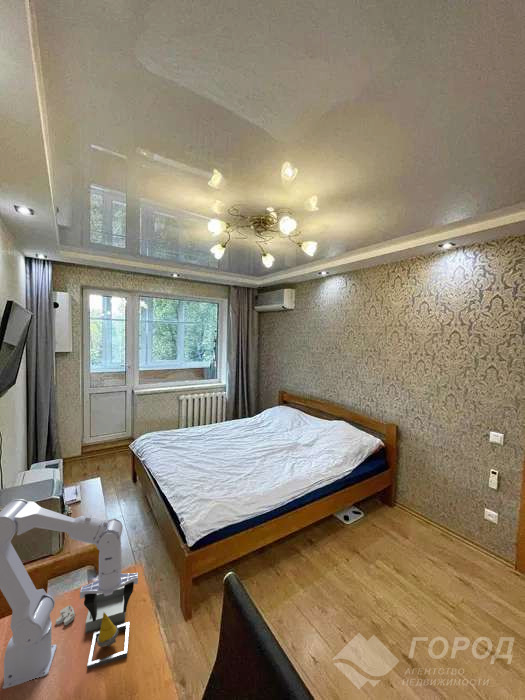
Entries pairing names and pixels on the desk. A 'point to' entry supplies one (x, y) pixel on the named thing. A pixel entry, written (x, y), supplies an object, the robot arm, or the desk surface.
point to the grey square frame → (112, 657)
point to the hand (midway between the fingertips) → (110, 613)
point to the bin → (107, 610)
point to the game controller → (66, 615)
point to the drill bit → (107, 632)
